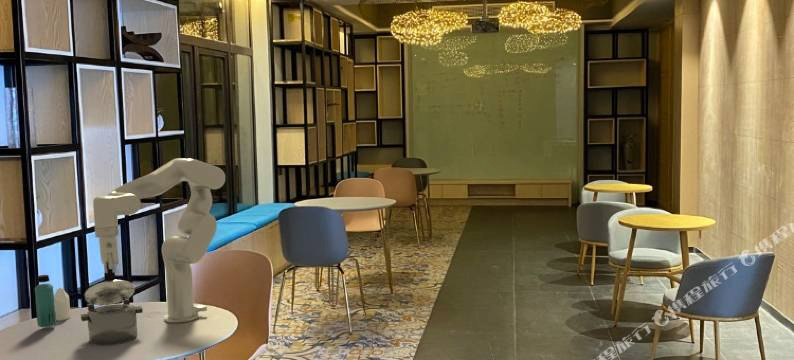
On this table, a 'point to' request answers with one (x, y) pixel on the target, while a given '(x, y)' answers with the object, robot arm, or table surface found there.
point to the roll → (62, 305)
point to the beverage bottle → (45, 303)
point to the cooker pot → (112, 323)
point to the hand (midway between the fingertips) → (110, 283)
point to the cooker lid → (109, 292)
